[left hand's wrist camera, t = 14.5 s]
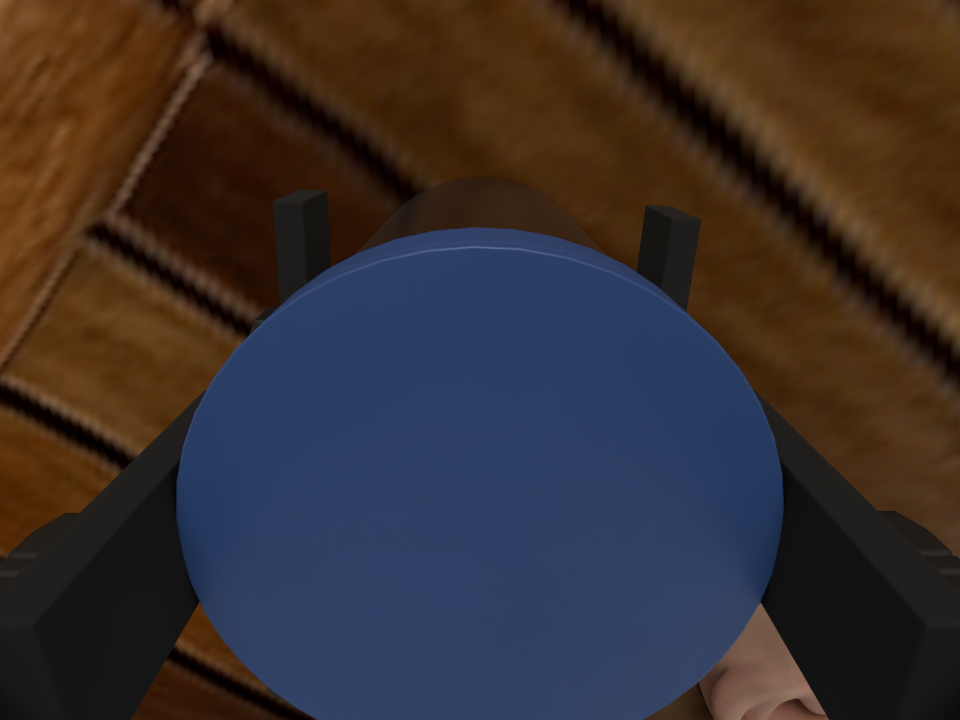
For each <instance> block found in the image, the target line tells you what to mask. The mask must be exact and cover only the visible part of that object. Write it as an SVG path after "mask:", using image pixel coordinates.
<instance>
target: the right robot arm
mask: <svg viewBox="0 0 960 720" xmlns="http://www.w3.org/2000/svg"><path fill="white" fill-rule="evenodd" d="M273 210H274V224H275V239H276V253H277V267H278V282H279V296H280V306H281V305H282V304H283V303H284V302H285V301H286V300H287V299H288V298H290V297H291V296H292V295H293V294H294V293H295V292H296V291H298V290H299V289H300V288H302V287H303V286H305V285H306V284H307V283H309V282H310V281H311V280H313V279H314V278H316V277H317V276H318V275H320V274H321V273H322V272H324V271H325V270H327V269H329V268H330V246H329V221H328V196H327V191H315V190H300V191H297V192H295V193H292V194H289V195H287V196H284V197H282V198H279V199H276V200H274V201H273ZM700 224H701V220H700V219H698V218H695V217H693V216H691V215H689V214H687V213H684V212H682V211H680V210H678V209H675V208H673V207H669V206H647V205H646V207H645V214H644V222H643V229H642V237H641V244H640V252H639V259H638V267H637V273H638V274H640V275H641V276H643V277H644V278H646V279H647V280H649V281H650V282H652V283H653V284H655V285H656V286H657V287H659V288H660V289H661V290H662V291H663V292H664V293H665V294H666V295H667V296H669V297H670V298H671V299H672V300H673V301H674V302H675V303H676V304H677V305H679V306H680V307H681V308H682V309H683V310H684V311H685V312H686V309H687V303H688V297H689V291H690V285H691V279H692V273H693V267H694V261H695V255H696V249H697V243H698V237H699V231H700ZM278 308H279V307H269V308H268V309H267V310H266V311H264V312H263V313H262V314H261V315H260V316H259V317H258V318H257V319H255V320H254V323H253V326H252V329H251V332H250V334H251V333H252V332H253V331H254V330H255V329H257V328H258V327H259V326H260V325H261V324H262V323H263V322H264V321H265V320H266V319H267V318H268V317H269V316H270V315H271V314H272V313H273V312H274V311H275V310H277V309H278ZM267 689H268V691H269V692H270V693H271V694H272V695H274V696H275V697H277V698H281V699H283V698H282V697H281V696H279V695H278V694H276V693H275V692H274V691H272V690H271V689H270V688H268V687H267Z"/></svg>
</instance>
